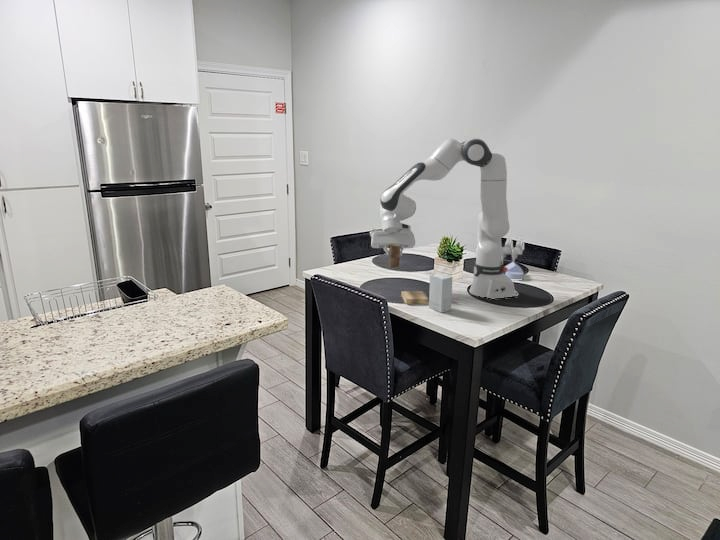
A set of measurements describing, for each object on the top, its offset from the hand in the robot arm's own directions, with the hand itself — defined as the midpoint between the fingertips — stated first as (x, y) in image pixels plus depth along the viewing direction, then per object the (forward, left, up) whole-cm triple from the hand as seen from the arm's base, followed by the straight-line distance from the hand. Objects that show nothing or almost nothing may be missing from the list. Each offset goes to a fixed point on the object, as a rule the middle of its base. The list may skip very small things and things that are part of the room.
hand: (394, 255), depth 217 cm
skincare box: (-16, +21, -18) cm, 32 cm away
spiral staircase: (-71, -46, -18) cm, 86 cm away
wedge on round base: (-70, -23, -18) cm, 76 cm away
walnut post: (0, -1, -5) cm, 5 cm away
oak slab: (-8, +10, -19) cm, 23 cm away
